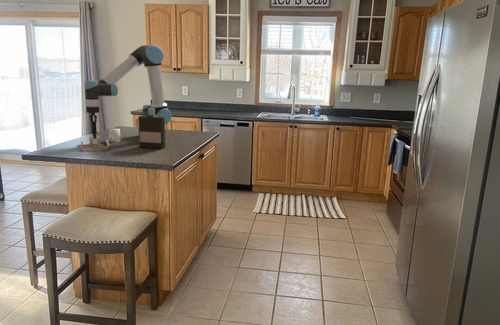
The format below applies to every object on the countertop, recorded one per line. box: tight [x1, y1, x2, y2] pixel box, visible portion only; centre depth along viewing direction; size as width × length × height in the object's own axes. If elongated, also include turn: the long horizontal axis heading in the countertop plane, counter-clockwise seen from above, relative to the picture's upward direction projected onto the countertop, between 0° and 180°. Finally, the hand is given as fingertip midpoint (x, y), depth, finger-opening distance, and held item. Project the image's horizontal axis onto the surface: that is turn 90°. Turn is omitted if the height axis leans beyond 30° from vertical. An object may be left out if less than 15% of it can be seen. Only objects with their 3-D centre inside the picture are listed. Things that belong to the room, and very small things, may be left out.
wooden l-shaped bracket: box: [80, 139, 111, 152], centre depth 225 cm, size 20×16×2 cm
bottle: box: [137, 108, 166, 150], centre depth 228 cm, size 8×16×25 cm, turn 88°
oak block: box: [88, 135, 101, 147], centre depth 232 cm, size 6×6×5 cm
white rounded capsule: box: [108, 128, 122, 143], centre depth 244 cm, size 7×7×8 cm
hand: (95, 143), depth 228 cm, fingers closed
